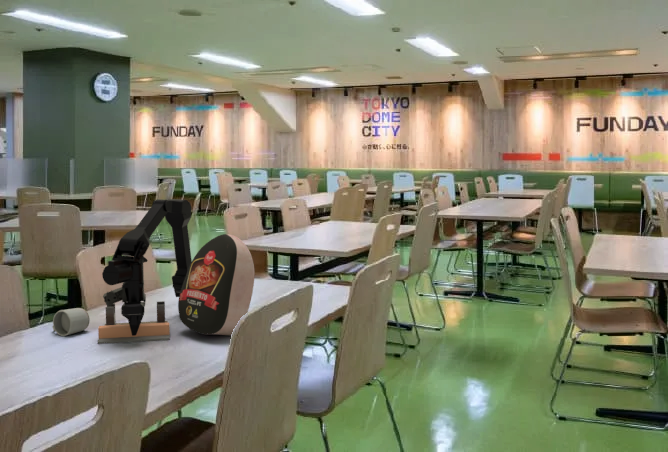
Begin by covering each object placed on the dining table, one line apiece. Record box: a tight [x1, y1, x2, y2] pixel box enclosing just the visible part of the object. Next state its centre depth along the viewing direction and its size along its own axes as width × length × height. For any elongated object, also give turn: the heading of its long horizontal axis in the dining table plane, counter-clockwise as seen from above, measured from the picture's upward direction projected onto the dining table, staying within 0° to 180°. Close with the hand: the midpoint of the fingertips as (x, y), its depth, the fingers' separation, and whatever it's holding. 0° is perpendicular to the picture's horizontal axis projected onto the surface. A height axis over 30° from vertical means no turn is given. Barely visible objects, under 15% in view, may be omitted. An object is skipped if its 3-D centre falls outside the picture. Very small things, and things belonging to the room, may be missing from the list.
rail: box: [97, 322, 171, 339], centre depth 203 cm, size 20×3×3 cm, turn 104°
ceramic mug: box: [52, 307, 91, 337], centre depth 208 cm, size 11×8×8 cm
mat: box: [97, 328, 171, 345], centre depth 203 cm, size 20×10×1 cm, turn 104°
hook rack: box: [103, 300, 168, 326], centre depth 213 cm, size 19×7×8 cm, turn 104°
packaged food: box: [177, 233, 256, 336], centre depth 207 cm, size 22×20×30 cm
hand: (134, 331), depth 203 cm, fingers open, 9 cm apart
